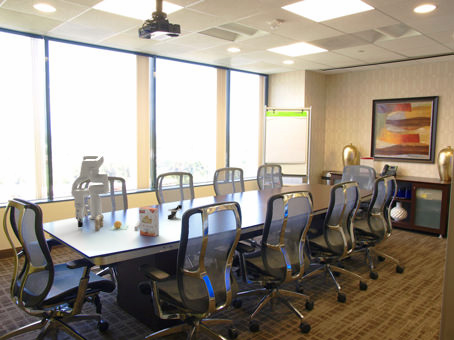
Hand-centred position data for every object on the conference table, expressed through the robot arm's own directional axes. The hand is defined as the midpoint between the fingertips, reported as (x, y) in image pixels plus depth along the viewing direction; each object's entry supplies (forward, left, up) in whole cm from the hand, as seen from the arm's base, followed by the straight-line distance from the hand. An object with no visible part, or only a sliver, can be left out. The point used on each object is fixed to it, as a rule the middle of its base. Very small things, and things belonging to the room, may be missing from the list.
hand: (80, 227), depth 299 cm
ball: (+1, +30, +2) cm, 30 cm away
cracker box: (+25, +58, -2) cm, 63 cm away
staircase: (-30, +75, -2) cm, 81 cm away
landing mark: (0, +31, -2) cm, 31 cm away
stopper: (0, +46, -2) cm, 46 cm away
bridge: (0, +15, -2) cm, 15 cm away
